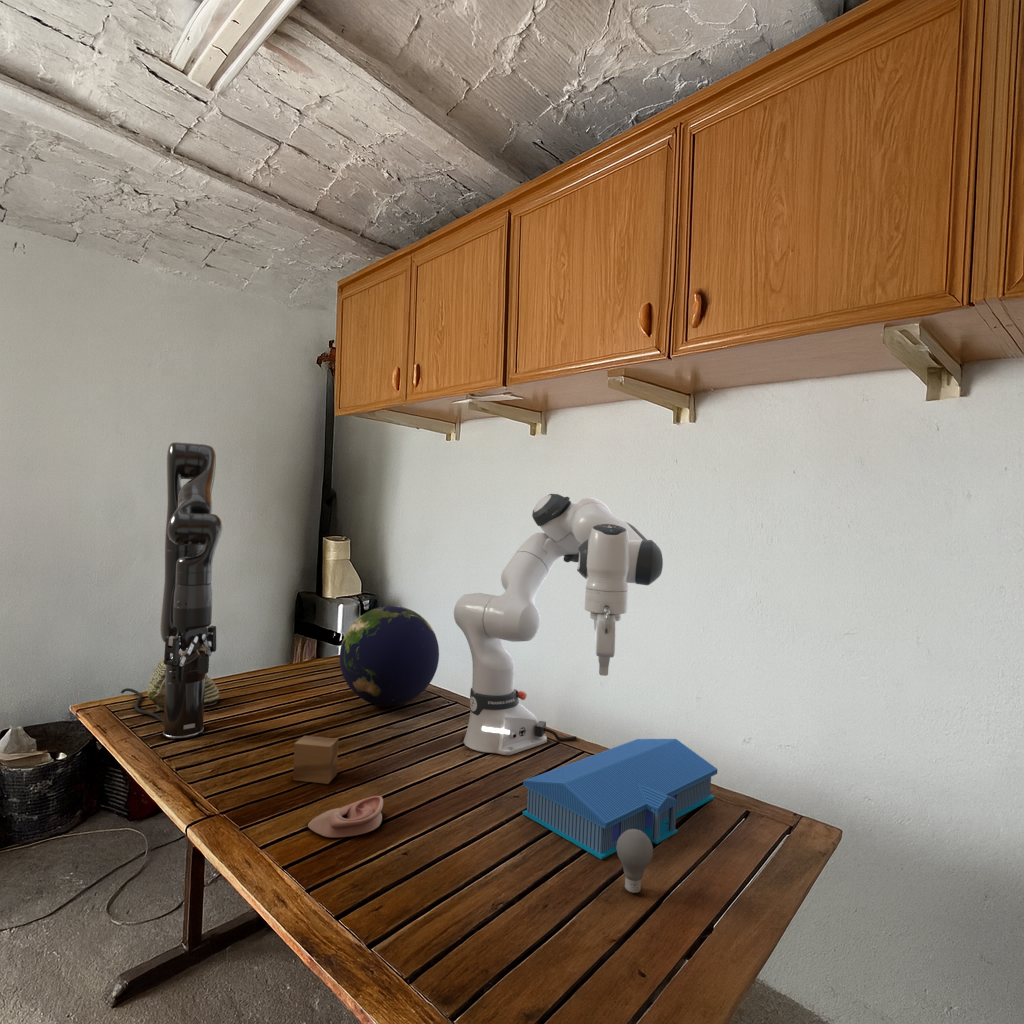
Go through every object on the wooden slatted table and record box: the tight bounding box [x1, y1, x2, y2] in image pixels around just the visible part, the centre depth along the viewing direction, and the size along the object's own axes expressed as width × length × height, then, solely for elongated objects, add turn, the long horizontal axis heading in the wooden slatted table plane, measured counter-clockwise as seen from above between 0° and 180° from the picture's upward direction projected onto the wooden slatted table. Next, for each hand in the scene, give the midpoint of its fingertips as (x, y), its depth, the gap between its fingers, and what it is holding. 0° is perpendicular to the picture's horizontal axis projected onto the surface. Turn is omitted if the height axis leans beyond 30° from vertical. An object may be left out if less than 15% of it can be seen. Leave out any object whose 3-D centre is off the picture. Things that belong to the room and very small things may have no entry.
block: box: [292, 735, 339, 785], centre depth 143 cm, size 5×8×8 cm, turn 83°
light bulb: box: [616, 829, 654, 894], centre depth 106 cm, size 6×6×10 cm
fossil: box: [147, 654, 221, 712], centre depth 185 cm, size 9×18×15 cm, turn 132°
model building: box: [522, 738, 718, 860], centre depth 134 cm, size 39×24×10 cm, turn 132°
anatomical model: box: [307, 795, 384, 839], centre depth 123 cm, size 13×4×12 cm
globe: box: [339, 605, 440, 707], centre depth 194 cm, size 30×30×30 cm
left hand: (190, 678), depth 139 cm, fingers open, 8 cm apart
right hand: (602, 668), depth 132 cm, fingers open, 8 cm apart
